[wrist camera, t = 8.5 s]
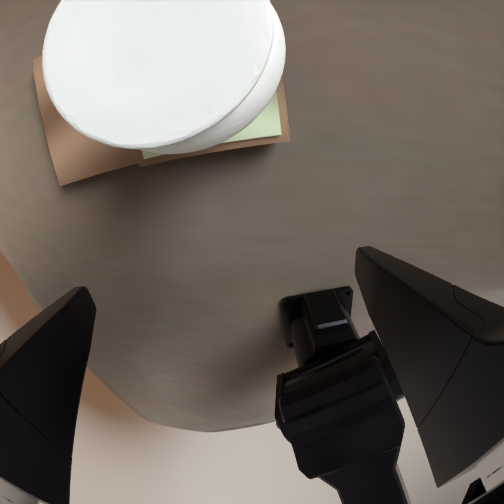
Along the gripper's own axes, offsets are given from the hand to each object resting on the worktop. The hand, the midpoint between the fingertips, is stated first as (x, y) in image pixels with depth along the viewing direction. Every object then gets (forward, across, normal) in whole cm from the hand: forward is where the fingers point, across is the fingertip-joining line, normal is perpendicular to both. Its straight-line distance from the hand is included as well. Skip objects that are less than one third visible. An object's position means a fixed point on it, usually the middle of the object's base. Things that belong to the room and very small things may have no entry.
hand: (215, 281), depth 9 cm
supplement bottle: (+10, 0, -7) cm, 12 cm away
